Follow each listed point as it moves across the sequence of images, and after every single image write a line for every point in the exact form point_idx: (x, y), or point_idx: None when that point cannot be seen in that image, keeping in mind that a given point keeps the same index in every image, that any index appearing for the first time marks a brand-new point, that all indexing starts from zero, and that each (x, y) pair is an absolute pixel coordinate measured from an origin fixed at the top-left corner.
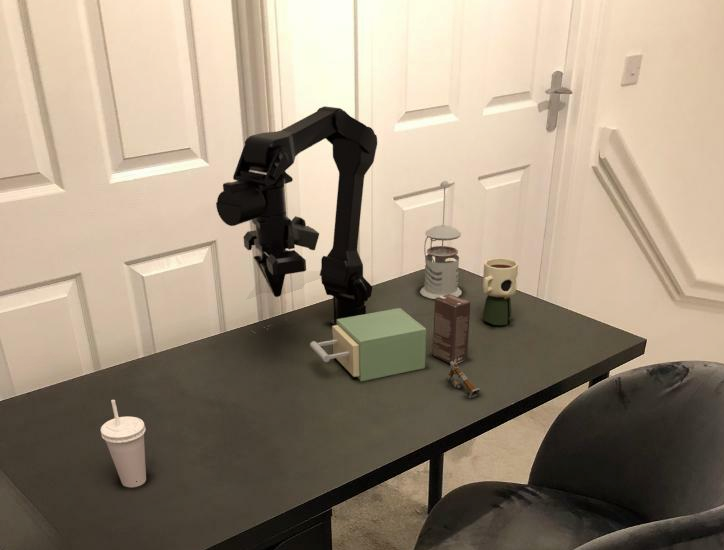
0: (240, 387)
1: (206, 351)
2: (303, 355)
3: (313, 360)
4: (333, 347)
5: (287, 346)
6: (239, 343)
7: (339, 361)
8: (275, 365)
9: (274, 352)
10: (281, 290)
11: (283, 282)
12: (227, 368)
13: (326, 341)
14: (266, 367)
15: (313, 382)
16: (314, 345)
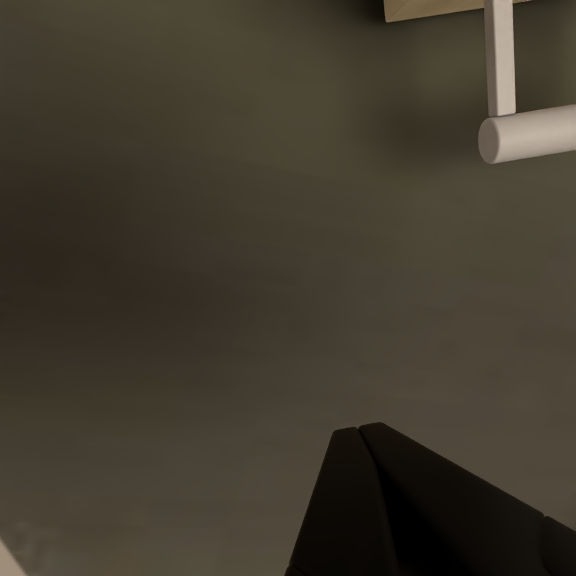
0: (491, 460)
1: (131, 559)
2: (279, 171)
3: (349, 134)
4: (410, 6)
5: (154, 229)
6: (72, 435)
7: (473, 8)
8: (347, 314)
9: (209, 299)
10: (427, 449)
11: (514, 497)
12: None
13: (499, 49)
14: (354, 352)
15: (565, 182)
16: (551, 145)
